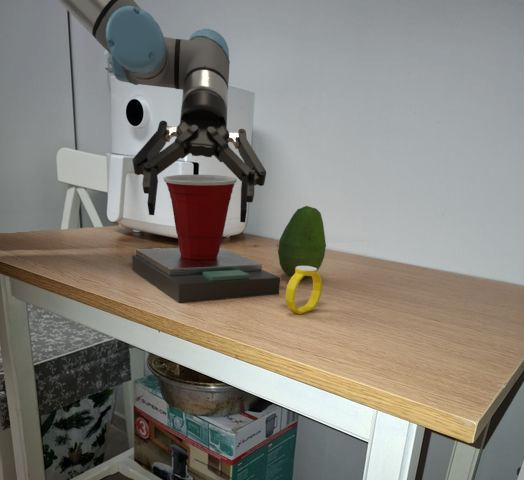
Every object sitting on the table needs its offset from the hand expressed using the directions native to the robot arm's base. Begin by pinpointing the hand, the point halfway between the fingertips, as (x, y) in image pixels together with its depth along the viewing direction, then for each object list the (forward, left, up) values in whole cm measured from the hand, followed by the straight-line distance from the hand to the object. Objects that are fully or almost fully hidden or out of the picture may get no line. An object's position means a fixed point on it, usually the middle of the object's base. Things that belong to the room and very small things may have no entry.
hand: (197, 213), depth 72 cm
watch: (+19, +7, -10) cm, 22 cm away
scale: (+1, +1, -10) cm, 10 cm away
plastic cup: (-1, +1, -7) cm, 7 cm away
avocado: (+3, +18, -10) cm, 21 cm away
